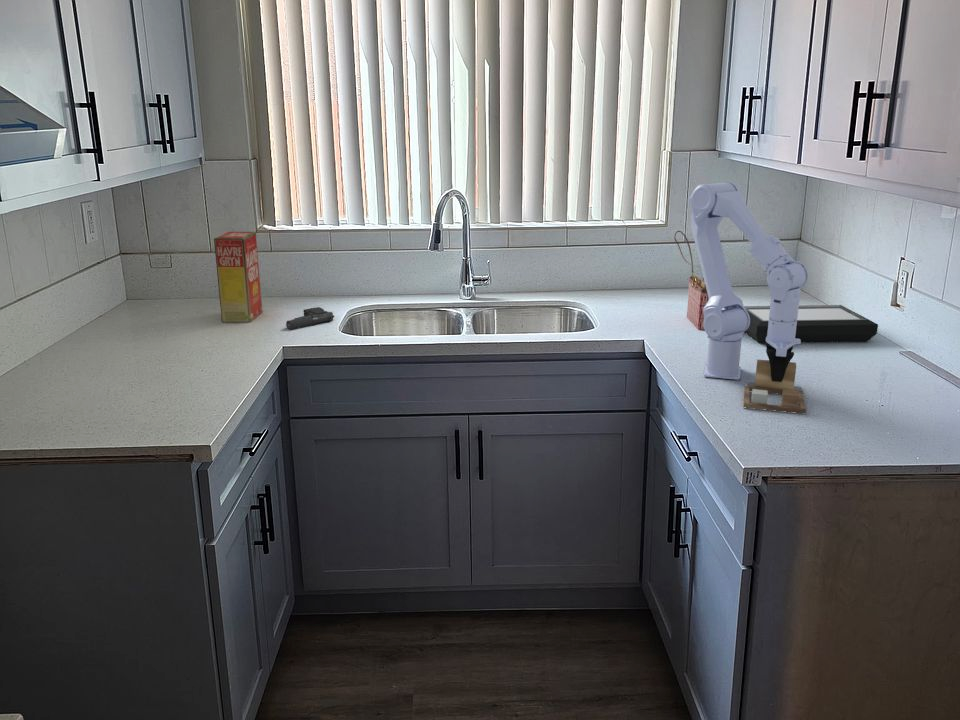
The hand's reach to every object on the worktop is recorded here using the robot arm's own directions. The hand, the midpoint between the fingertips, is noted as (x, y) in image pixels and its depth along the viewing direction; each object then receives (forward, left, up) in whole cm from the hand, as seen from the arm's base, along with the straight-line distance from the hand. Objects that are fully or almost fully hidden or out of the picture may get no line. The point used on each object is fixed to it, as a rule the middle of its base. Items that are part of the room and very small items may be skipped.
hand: (776, 378), depth 177 cm
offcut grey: (+10, -4, -3) cm, 11 cm away
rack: (+7, -1, -3) cm, 8 cm away
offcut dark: (+10, +2, -3) cm, 11 cm away
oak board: (0, 0, -2) cm, 2 cm away
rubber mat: (-1, 0, -3) cm, 3 cm away
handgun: (-24, -130, -3) cm, 133 cm away
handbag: (-56, -23, -3) cm, 60 cm away
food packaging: (-24, -152, -3) cm, 153 cm away
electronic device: (-50, +8, -3) cm, 51 cm away
